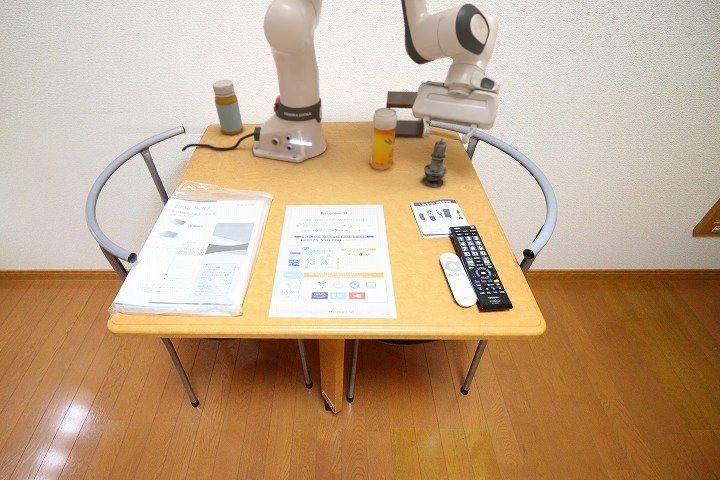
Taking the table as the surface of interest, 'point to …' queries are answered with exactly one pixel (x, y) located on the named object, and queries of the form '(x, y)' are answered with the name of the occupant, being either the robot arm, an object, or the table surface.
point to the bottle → (227, 107)
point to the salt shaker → (436, 166)
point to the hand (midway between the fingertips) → (444, 139)
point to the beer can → (383, 138)
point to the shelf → (405, 101)
